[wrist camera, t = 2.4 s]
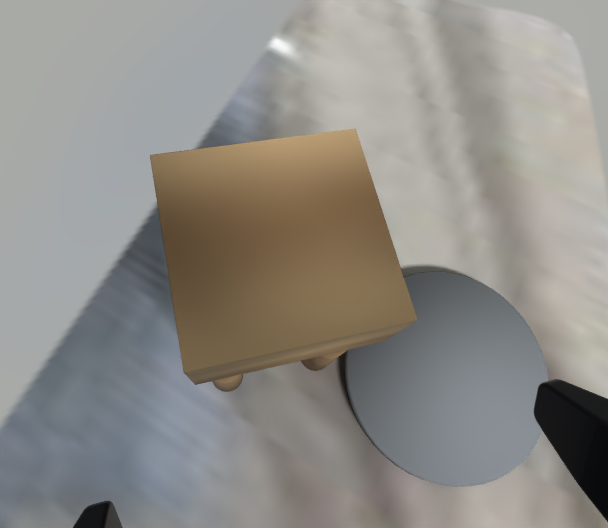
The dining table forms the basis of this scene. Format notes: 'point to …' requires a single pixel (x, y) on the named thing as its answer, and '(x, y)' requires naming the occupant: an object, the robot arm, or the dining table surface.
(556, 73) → the dining table surface
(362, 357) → the disc
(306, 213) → the wooden stool
